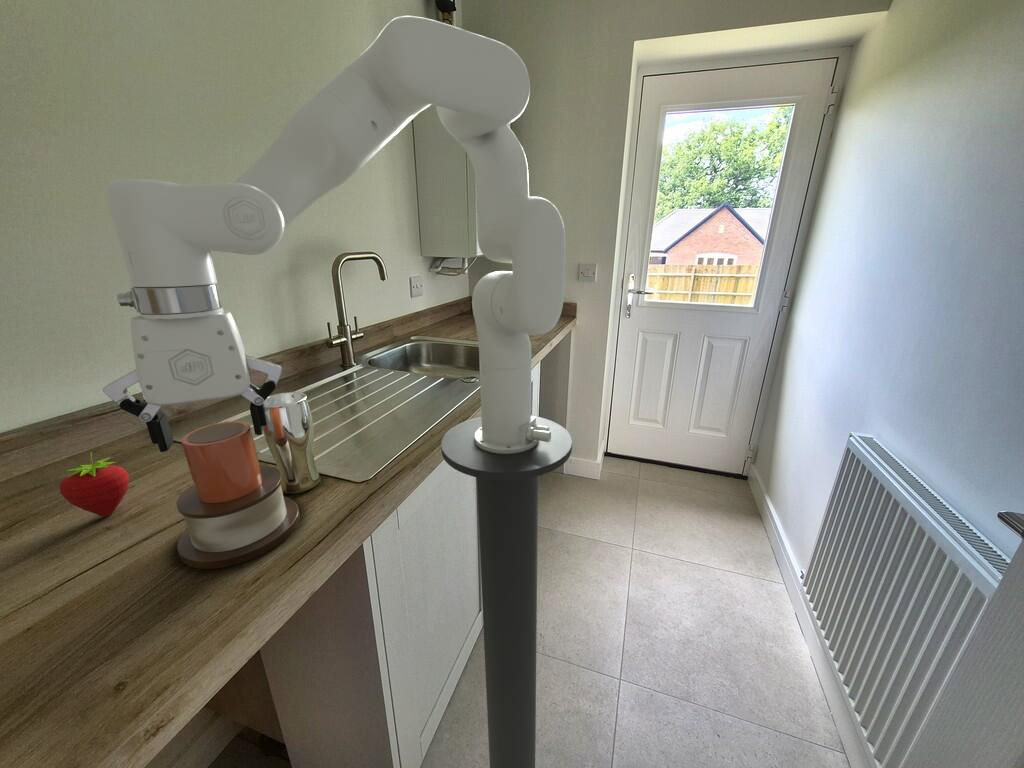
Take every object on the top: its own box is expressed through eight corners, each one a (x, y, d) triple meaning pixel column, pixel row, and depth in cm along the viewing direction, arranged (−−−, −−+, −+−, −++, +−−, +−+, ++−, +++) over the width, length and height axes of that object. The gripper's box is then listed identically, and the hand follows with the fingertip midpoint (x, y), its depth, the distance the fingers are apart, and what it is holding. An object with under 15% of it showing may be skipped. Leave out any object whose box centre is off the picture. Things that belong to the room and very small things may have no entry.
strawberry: (92, 506, 62) (69, 447, 59) (149, 500, 64) (129, 442, 60) (60, 531, 57) (33, 468, 53) (124, 524, 58) (100, 461, 55)
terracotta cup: (274, 479, 56) (262, 426, 53) (220, 509, 49) (203, 449, 47) (241, 468, 59) (228, 417, 56) (185, 495, 52) (168, 438, 50)
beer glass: (295, 471, 71) (278, 390, 66) (331, 474, 70) (317, 392, 65) (266, 494, 65) (245, 406, 60) (305, 497, 64) (287, 408, 59)
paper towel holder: (321, 515, 59) (313, 473, 57) (222, 584, 47) (207, 534, 45) (258, 492, 65) (249, 453, 63) (156, 549, 53) (139, 503, 51)
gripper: (60, 311, 39) (115, 468, 45) (267, 301, 47) (292, 436, 52) (92, 302, 46) (136, 441, 51) (269, 295, 53) (291, 416, 59)
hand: (215, 438), depth 52 cm, fingers open, 9 cm apart
